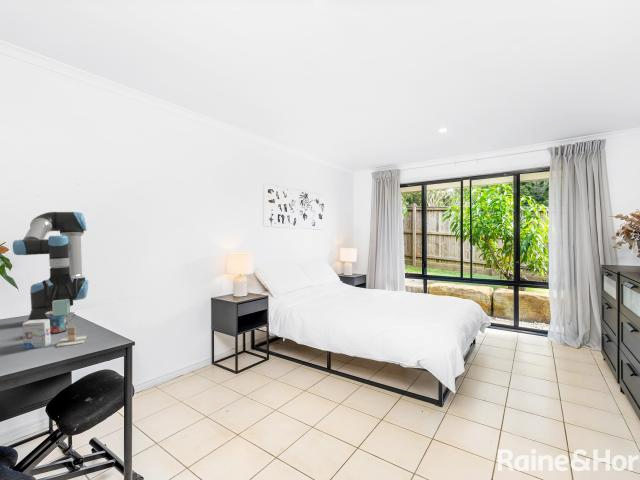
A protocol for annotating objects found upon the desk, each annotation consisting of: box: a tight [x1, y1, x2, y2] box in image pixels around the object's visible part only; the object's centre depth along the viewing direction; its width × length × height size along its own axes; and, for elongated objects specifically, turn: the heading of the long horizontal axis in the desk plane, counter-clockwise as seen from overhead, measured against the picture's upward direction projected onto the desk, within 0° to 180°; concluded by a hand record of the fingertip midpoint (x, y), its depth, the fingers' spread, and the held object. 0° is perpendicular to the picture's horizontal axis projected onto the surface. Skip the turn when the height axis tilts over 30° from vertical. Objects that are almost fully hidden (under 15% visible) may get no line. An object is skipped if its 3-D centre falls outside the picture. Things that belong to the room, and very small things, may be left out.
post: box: [55, 325, 88, 348], centre depth 150 cm, size 12×10×7 cm
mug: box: [45, 311, 75, 334], centre depth 166 cm, size 12×9×11 cm
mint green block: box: [53, 299, 69, 316], centre depth 156 cm, size 5×5×7 cm
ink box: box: [22, 319, 52, 350], centre depth 145 cm, size 9×5×12 cm, turn 106°
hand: (62, 313), depth 156 cm, fingers closed on mint green block, 5 cm apart
